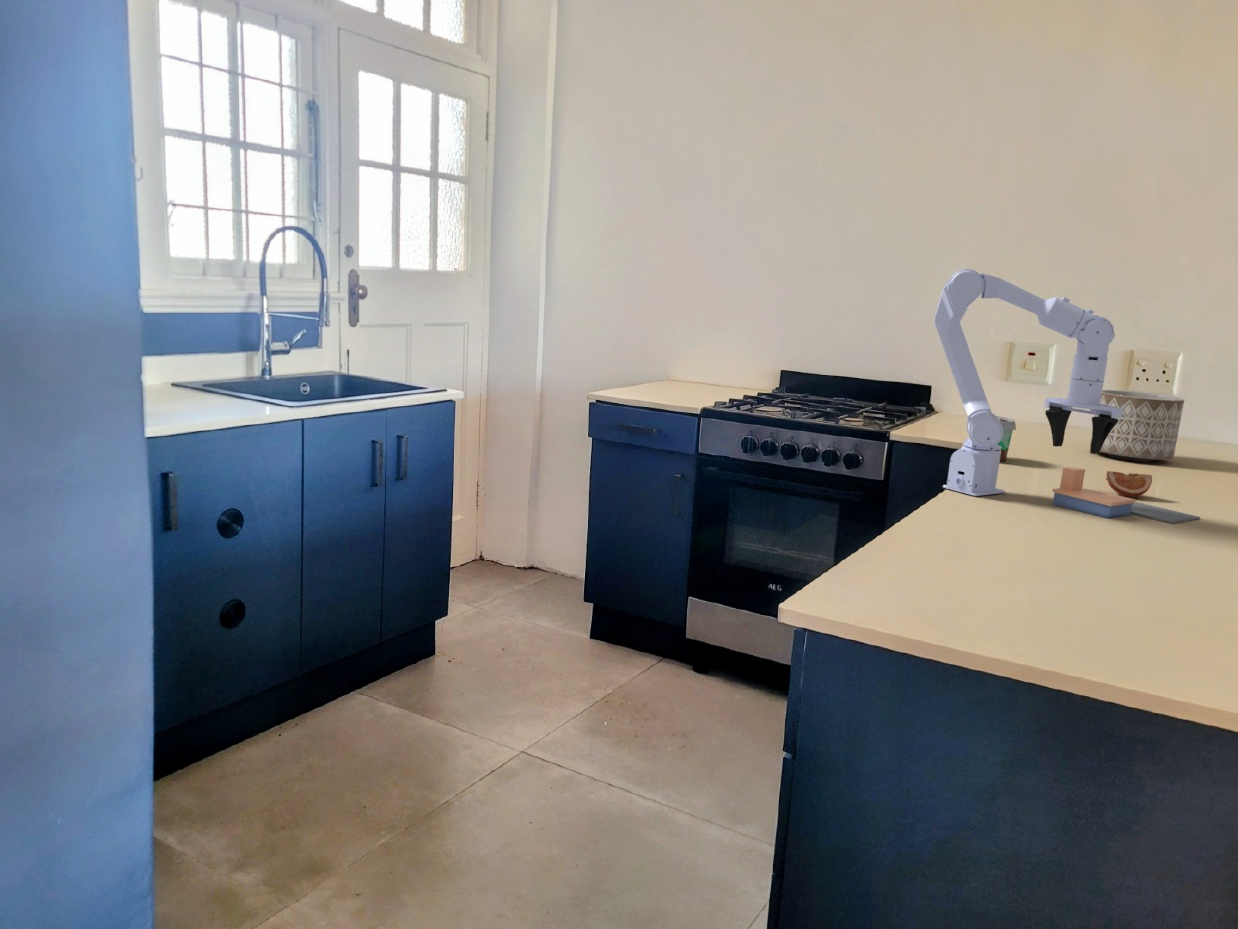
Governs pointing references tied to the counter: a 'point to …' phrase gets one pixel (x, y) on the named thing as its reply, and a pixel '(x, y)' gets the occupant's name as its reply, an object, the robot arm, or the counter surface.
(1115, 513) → the blue box
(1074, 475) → the lid
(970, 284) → the robot arm
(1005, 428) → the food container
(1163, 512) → the mat
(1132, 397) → the planter
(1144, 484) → the fruit slice
